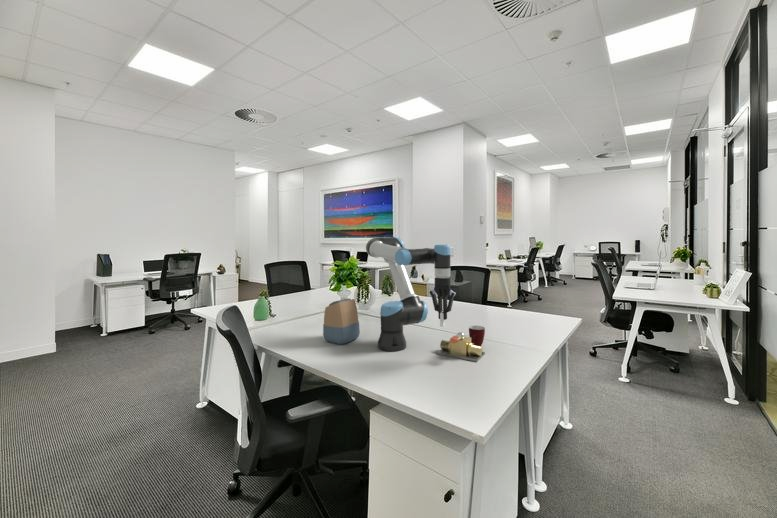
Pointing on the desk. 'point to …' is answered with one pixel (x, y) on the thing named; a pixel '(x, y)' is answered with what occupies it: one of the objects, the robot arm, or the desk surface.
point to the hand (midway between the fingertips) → (442, 325)
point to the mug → (477, 335)
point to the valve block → (461, 349)
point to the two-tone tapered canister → (341, 322)
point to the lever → (457, 337)
